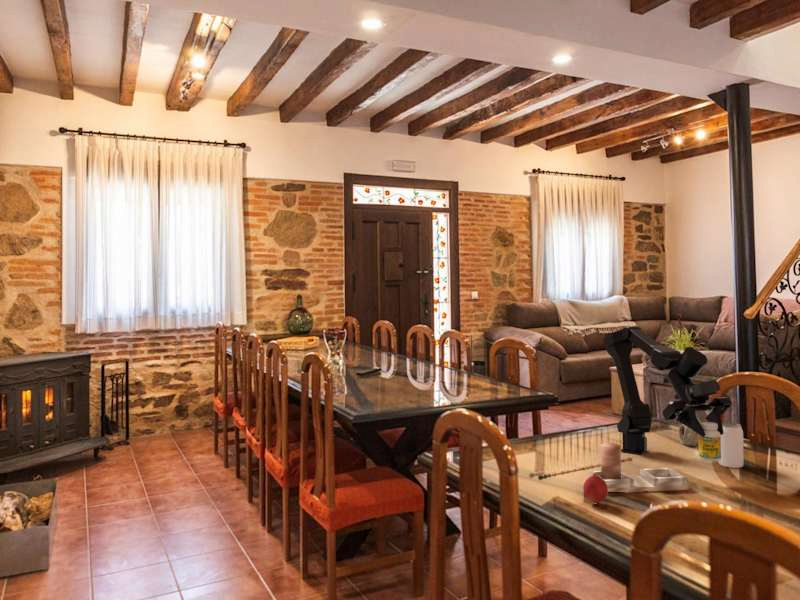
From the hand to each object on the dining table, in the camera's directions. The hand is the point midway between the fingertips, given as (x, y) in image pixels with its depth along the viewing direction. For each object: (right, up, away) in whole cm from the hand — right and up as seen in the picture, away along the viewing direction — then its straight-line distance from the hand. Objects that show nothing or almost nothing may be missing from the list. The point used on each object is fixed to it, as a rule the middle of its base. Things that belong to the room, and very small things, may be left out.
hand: (713, 435), depth 163 cm
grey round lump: (+13, -12, +40) cm, 44 cm away
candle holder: (-20, -14, +1) cm, 24 cm away
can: (+14, -13, +16) cm, 25 cm away
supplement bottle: (0, -7, +2) cm, 7 cm away
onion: (-35, -15, -12) cm, 40 cm away
